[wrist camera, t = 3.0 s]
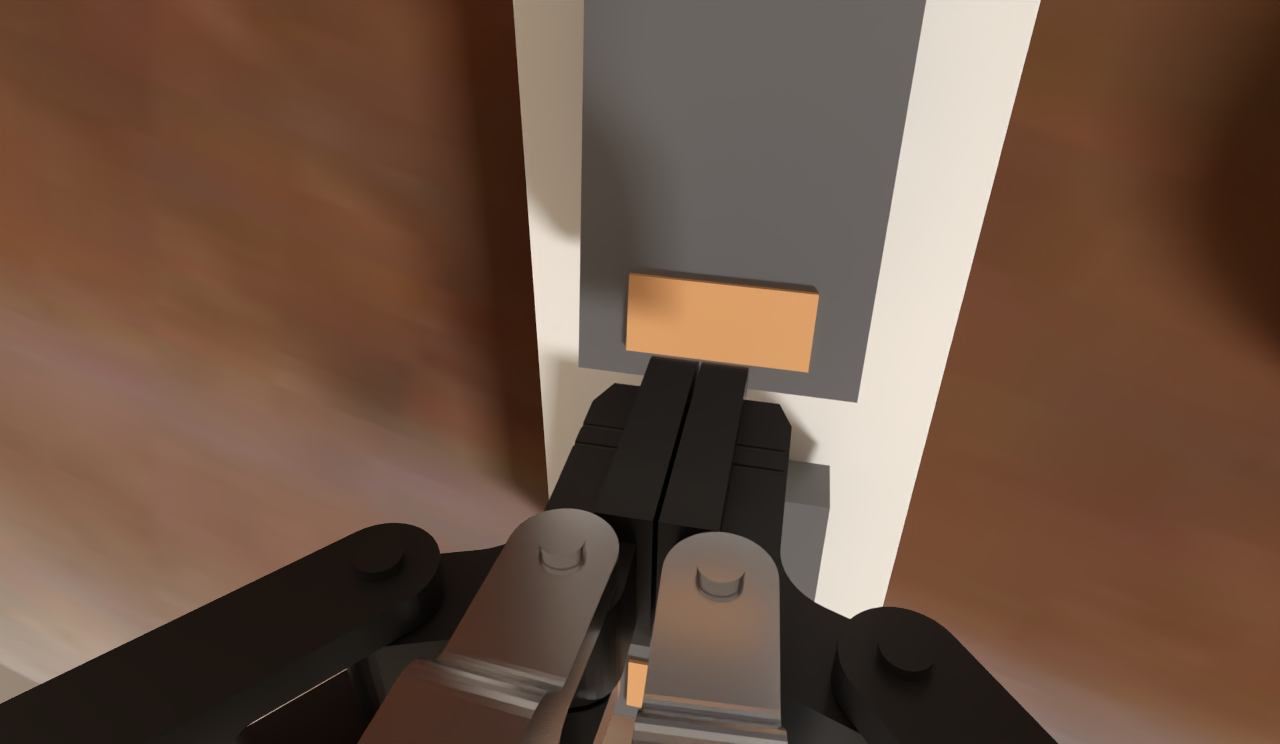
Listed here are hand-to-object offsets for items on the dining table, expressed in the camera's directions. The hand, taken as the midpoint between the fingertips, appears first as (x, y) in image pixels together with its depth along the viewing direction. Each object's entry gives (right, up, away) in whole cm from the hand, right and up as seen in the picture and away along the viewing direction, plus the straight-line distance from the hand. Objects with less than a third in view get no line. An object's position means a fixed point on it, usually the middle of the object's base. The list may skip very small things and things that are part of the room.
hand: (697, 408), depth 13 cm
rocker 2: (+1, +4, +2) cm, 5 cm away
